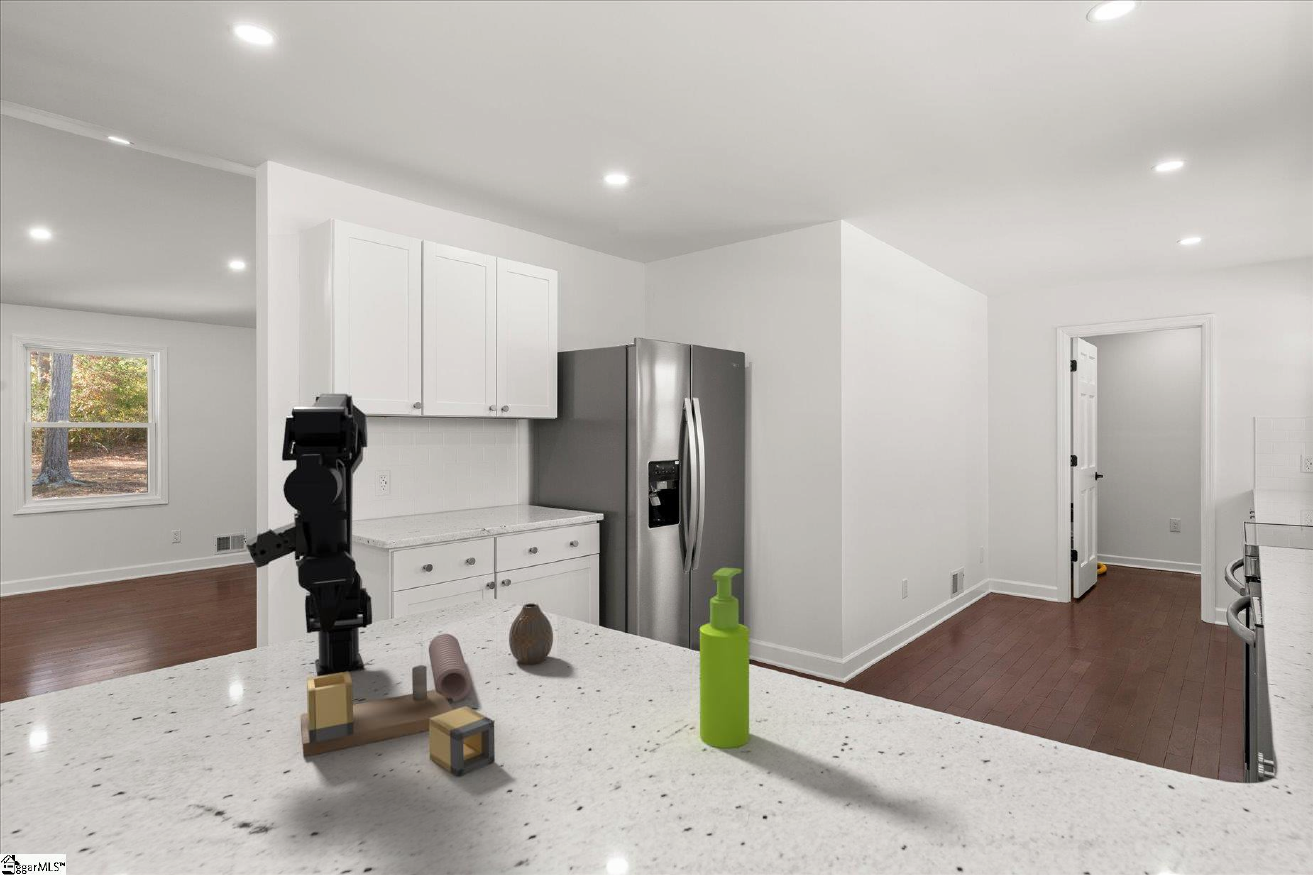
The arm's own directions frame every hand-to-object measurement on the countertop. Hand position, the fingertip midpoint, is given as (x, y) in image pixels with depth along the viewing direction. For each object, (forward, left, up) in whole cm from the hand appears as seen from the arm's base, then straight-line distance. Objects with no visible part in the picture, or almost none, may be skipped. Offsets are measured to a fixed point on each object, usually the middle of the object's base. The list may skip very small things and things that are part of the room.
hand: (324, 622), depth 91 cm
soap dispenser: (+31, +42, -12) cm, 54 cm away
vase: (-6, +30, -12) cm, 33 cm away
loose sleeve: (+10, 0, -10) cm, 14 cm away
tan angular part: (+24, +13, -10) cm, 30 cm away
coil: (-4, +17, -12) cm, 21 cm away
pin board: (+7, +5, -12) cm, 15 cm away
